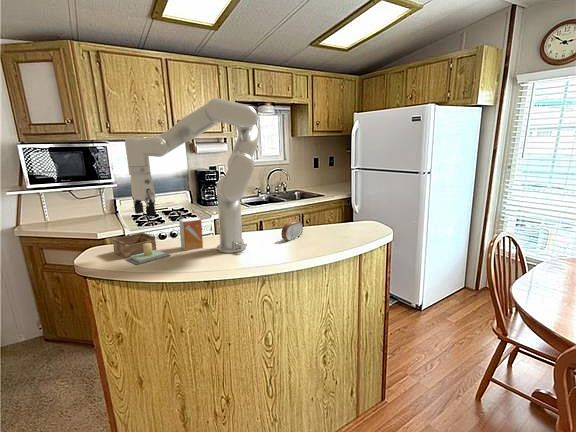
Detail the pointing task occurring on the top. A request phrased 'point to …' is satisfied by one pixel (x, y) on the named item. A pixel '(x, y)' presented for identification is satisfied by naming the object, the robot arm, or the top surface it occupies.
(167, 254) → the mat
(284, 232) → the bread slice
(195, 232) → the small box
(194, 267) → the top surface
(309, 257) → the top surface
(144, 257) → the lid
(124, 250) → the box
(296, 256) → the top surface
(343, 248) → the top surface
